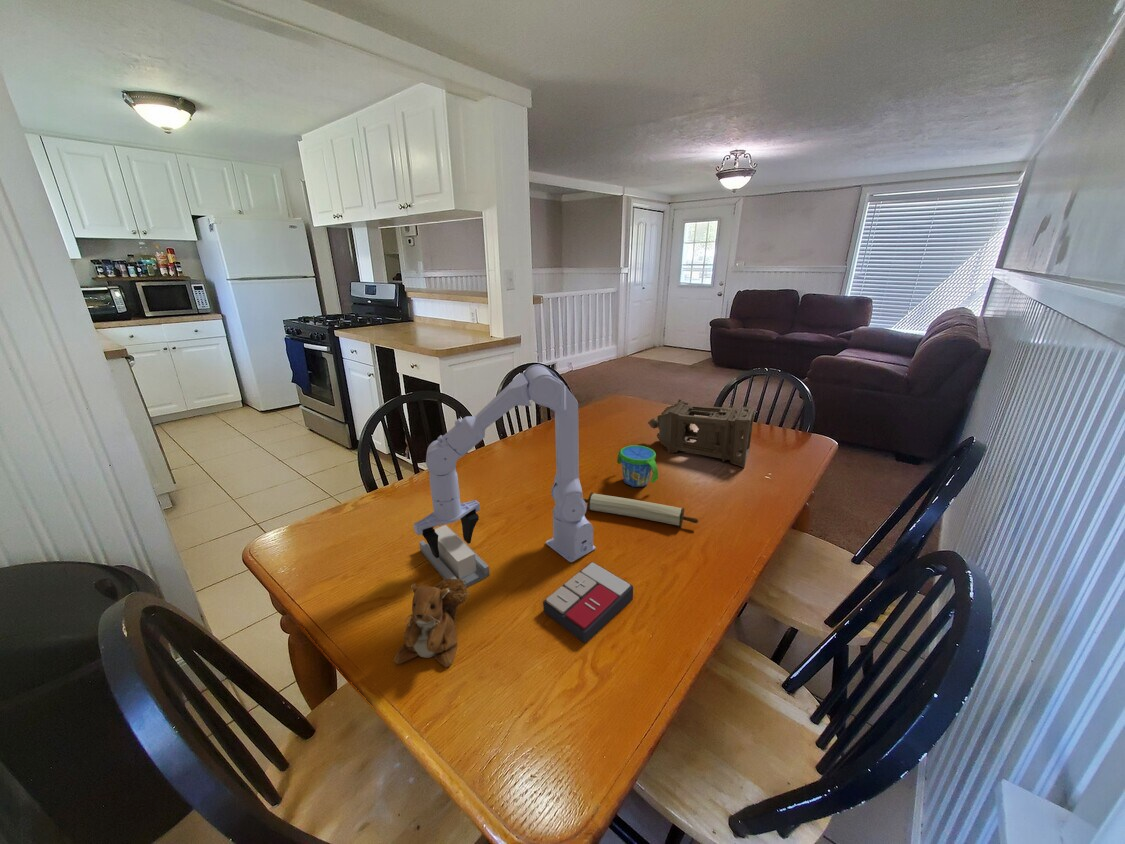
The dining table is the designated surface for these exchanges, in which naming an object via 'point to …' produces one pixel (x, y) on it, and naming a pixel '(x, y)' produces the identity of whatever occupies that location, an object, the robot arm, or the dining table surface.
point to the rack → (448, 573)
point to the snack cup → (637, 465)
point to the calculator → (588, 601)
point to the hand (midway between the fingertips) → (451, 548)
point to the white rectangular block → (455, 552)
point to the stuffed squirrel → (433, 622)
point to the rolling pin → (637, 509)
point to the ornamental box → (706, 431)
